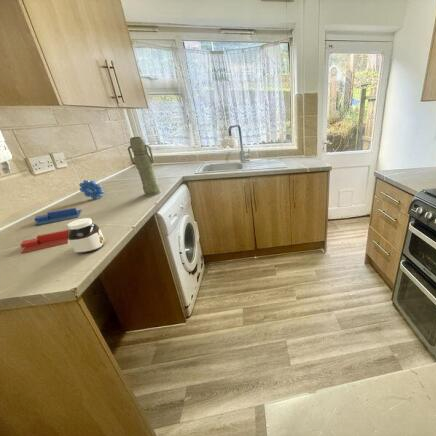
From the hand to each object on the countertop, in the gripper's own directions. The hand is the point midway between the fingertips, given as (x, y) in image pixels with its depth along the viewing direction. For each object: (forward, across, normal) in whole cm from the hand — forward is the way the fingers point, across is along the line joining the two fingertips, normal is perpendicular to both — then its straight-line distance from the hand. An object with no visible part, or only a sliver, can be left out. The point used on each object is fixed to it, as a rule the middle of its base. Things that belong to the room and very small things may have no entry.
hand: (2, 175), depth 93 cm
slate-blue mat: (+27, -22, +6) cm, 35 cm away
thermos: (+26, -35, +49) cm, 65 cm away
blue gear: (+27, -48, +17) cm, 57 cm away
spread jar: (+26, +26, +22) cm, 43 cm away
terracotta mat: (+27, +10, +9) cm, 30 cm away
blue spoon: (+26, -22, +6) cm, 34 cm away
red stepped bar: (+26, +10, +9) cm, 29 cm away
